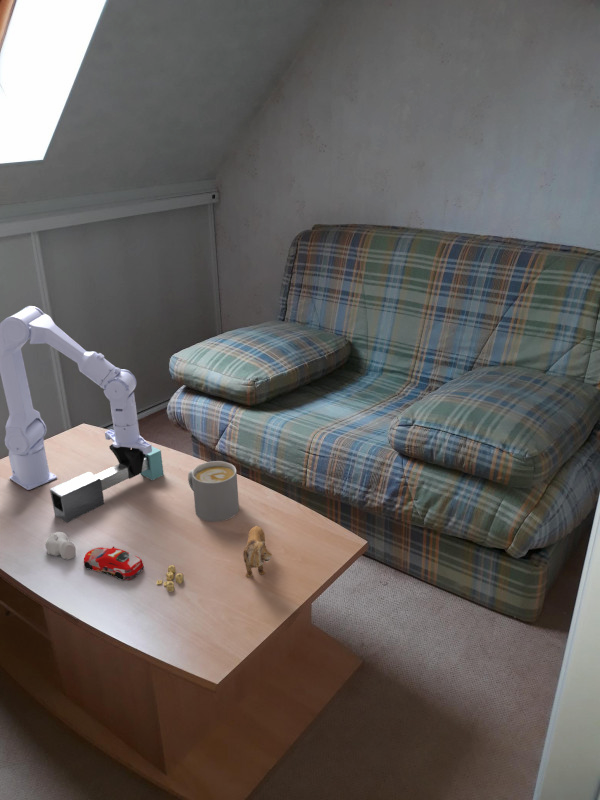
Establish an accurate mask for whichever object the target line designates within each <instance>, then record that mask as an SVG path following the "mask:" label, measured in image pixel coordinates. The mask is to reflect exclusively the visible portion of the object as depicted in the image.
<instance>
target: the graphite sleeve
mask: <svg viewBox="0 0 600 800" xmlns="http://www.w3.org/2000/svg"><path fill="white" fill-rule="evenodd" d="M49 493H50V496H51V502H52V506H53V512H54V513H53V514H54V517H57V518H58V519H60V520H61V521H63V522H64V523H66V524H67V523H69V522H71V521H73V520H76V519H77V518H79V517H81V516H83V515H85V514H88V513H89V512H92V511H94V510H95V509H97V508H99V507H102V506H104V505H105V499H104V490H103V491H102V485H101V478H99V477H97V476H96V474H93V473H92V472H90V471H87V472H85V473H82V474H80V475H78V476H75V477H74V478H70V479H69V480H67V481H64V482H63V483H60V484H57V485H56V486H53V487H51V488H49Z"/></svg>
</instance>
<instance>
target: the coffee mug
mask: <svg viewBox="0 0 600 800" xmlns="http://www.w3.org/2000/svg"><path fill="white" fill-rule="evenodd" d="M237 473H238V472H237V469H236V466H235V465H233V464H232V463H230V462H227V461H222V460H215V461H214V460H213V461H207V462H202V463H201V464H199V465H197V466H196V467H195V468H193V469H191V470H190V471H189V472H188V476H187V481H188V485H189V487H190V489H191V490H192V492H193V501H194V510H195V511H194V512H195V514H196V517H198V519H200V520H202V521H205V522H210V523H211V522H212V523H214V522H215V523H216V522H217V523H218V522H224V521H226V520H227V521H228V520H229V519H231V518H233V517H234V516H235V515H237V514H238V513H239V510H240V508H239V506H240V505H239V490H238V489H239V488H238V475H237Z"/></svg>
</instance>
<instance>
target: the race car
mask: <svg viewBox="0 0 600 800" xmlns="http://www.w3.org/2000/svg"><path fill="white" fill-rule="evenodd" d="M83 567H85V568H86V569H87V568H88V569H87V570H90V569H91V570H92V571H96V572H98V573H100V574H105V575H108V576H111V577H113V578H116V579H118V580H121V581H122V580H123V581H124V580H127V581H128V580H132V579H134V578H136V577H137V576H138V575H139V574H140V573H142V571H143V570H144V568H145V567H144V562H143V560H142V559H141V558H140V557H139V556H137V555H135V554H133V553H131V552H129V551H126V550H124V549H120V548H116V547H115V546H112V547H110V548H109V547H95V548H91V549H90V550H88V551H87V552H86V553H85V555H84V558H83ZM91 570H90V571H91Z"/></svg>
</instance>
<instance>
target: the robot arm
mask: <svg viewBox="0 0 600 800" xmlns="http://www.w3.org/2000/svg"><path fill="white" fill-rule="evenodd" d="M29 340H30V341H29ZM28 341H29V345H39V344H40V345H41V344H47V345H49V346H51V347H52V348H53V349H55V350H56V351H58V352H60V353H62V354H63V355H64V356H66V357H67V358H69V360H72V361H73V362H75V363H76V364H77V367H78V370H79V372H80V373H82V374H83V375H84V376H86V377H87V378H88V379H90V380H91V381H92V382H93V383H95V384H96V385H97V386H99V387H100V388H101V389H103V394H104V396H105V397H106V398H107V400H108V401H109V405H110V410H111V419H112V425H113V429H108V430H106V431H104V435H105V436H104V437H105V440H107V441H109V440H111V441H112V444H110V445H109V450H110V451H111V452H112V453H113V455H114V456H115V457H116V459H117V462H118V464H120V462H123V461H125V460H127V459H129V462H130V464H131V469H132V473H133V475H134V476H135V477H136V476H138V474H139V475H141V473H142V466H143V461H144V458H145V455H146V454H148V453H150V452H152V446H153V445H152V444H151V443H149V442H147V440H145V439H144V437H142V436H141V435H140V430H139V428H140V427H139V419H138V413H137V412H138V411H137V405H136V399H135V392H134V391H135V389H136V387H137V378H136V376H135V375H134V374H133V373H132V371H130V370H128V369H122V368H120V367H116V366H115V365H114V364H112V363H111V362H110V361H109V360H108V359H106V358H105V355H104V354H102V353H101V352H97V351H87V350H86V349H84V348H83V347H82V346H81V345H80V344H79V343H78V342H76V341H75V340H74V339H73V338H71V337H70V335H68V334H67V333H65V331H64V330H62V329H61V328H60V327H59V326H57V324H56V323H55V322H54V320H53V319H52V317H51V316H50V315H49V314H46V313H44V311H42V309H40V308H39V307H38V306H37V307H36V306H33V305H28V306H26V307H24V308H22V309H21V310H19V311H18V312H16V313H14V314H12V315H11V316H8V317H6V318H5V319H3V320H2V321H1V322H0V377H1V378H0V379H1V382H2V387H3V392H4V395H5V400H6V405H7V409H8V413H9V415H8V419H7V421H6V424H5V429H4V430H5V437H4V445H5V447H6V449H7V450H8V459H9V463H10V469H11V473H12V475H11V476H9V479H10V481H13V482H14V483H16V484H17V485H19V486H21V488H24V489H25V490H27V491H30V490H33V489H35V488H37V487H40V486H41V485H44V484H47V483H49V482H52V481H53V480H56V479H57V478H58V476H57V475H56V474H55V473H53V472H51V471H50V469H49V465H48V459H47V452H46V448H45V441H44V437H45V436H46V434H47V425H46V423H45V422H44V420H43V419H42V417H41V412H40V411H38V410H36V409H34V405H33V400H32V395H31V390H30V386H29V380H28V376H27V372H26V367H25V362H24V357H23V352H22V348H23V346H24V345H25V344H26V343H27V342H28Z"/></svg>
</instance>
